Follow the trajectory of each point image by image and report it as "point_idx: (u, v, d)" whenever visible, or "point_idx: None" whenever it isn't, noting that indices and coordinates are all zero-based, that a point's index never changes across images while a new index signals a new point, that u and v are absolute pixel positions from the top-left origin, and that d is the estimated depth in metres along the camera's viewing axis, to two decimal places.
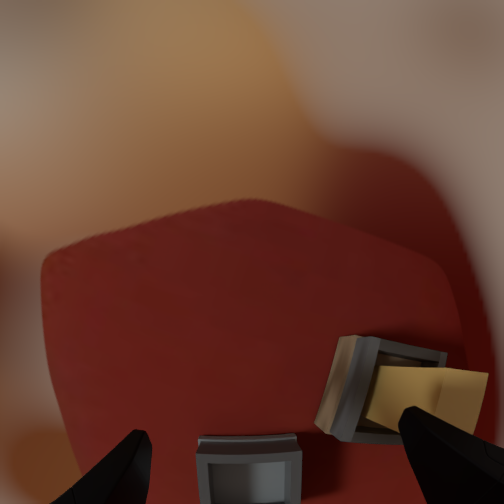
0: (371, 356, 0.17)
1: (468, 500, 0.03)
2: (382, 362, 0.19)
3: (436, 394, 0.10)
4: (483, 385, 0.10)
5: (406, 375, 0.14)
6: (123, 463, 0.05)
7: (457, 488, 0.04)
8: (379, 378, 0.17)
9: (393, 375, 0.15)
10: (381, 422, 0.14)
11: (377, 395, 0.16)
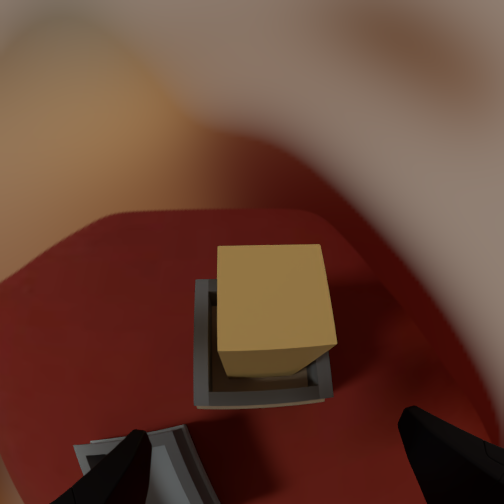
0: (201, 299, 0.16)
1: (468, 500, 0.03)
2: None
3: (218, 283, 0.10)
4: (316, 260, 0.11)
5: None
6: (123, 463, 0.05)
7: (457, 489, 0.04)
8: None
9: None
10: (225, 367, 0.13)
11: None
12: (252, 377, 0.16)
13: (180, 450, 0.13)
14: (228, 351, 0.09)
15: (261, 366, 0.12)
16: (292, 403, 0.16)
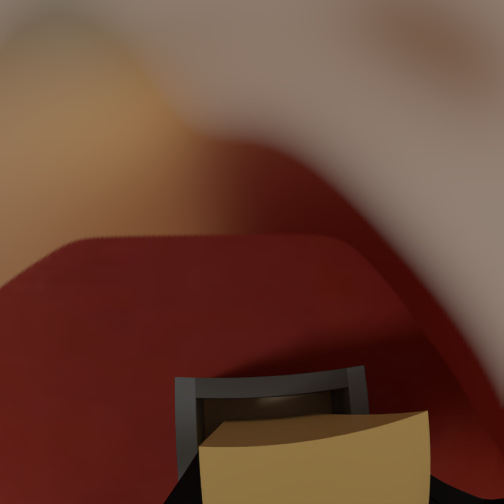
0: (185, 410, 0.09)
1: None
2: (246, 411, 0.11)
3: None
4: (417, 450, 0.03)
5: None
6: None
7: None
8: None
9: None
10: None
11: None
12: None
13: None
14: None
15: None
16: None
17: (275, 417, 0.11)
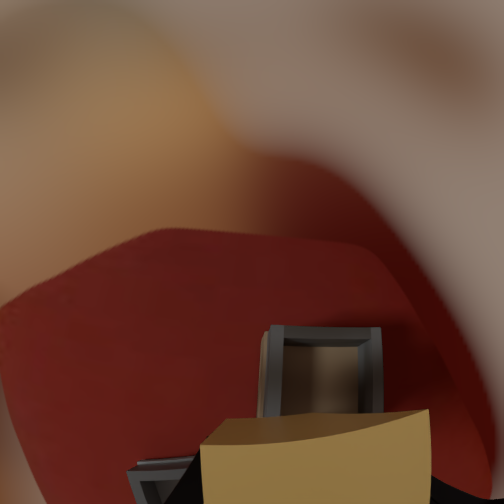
0: (276, 345, 0.17)
1: None
2: (305, 354, 0.19)
3: None
4: (418, 449, 0.03)
5: None
6: None
7: None
8: None
9: None
10: None
11: None
12: None
13: None
14: None
15: None
16: None
17: None
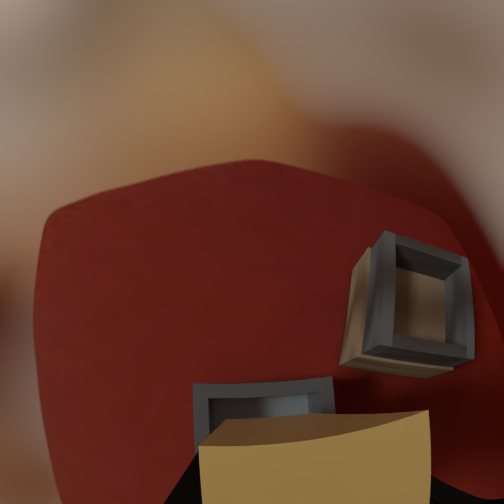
0: (389, 248, 0.16)
1: None
2: (402, 276, 0.18)
3: None
4: (418, 450, 0.03)
5: None
6: None
7: None
8: None
9: None
10: None
11: None
12: None
13: None
14: None
15: None
16: (432, 366, 0.15)
17: (275, 417, 0.11)
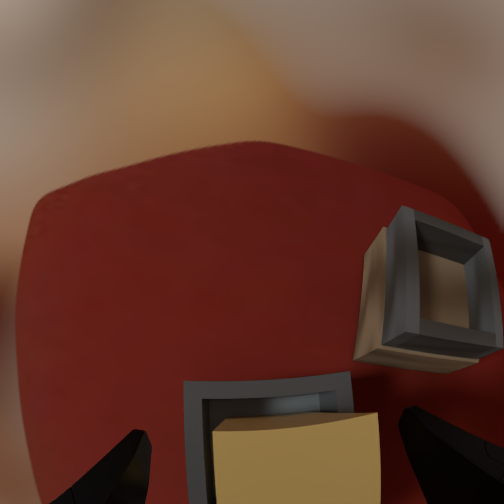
0: (409, 224, 0.14)
1: (468, 500, 0.03)
2: (421, 258, 0.16)
3: (216, 481, 0.05)
4: (369, 441, 0.05)
5: None
6: (122, 463, 0.05)
7: (458, 488, 0.04)
8: None
9: None
10: None
11: None
12: None
13: None
14: None
15: None
16: (457, 358, 0.12)
17: None
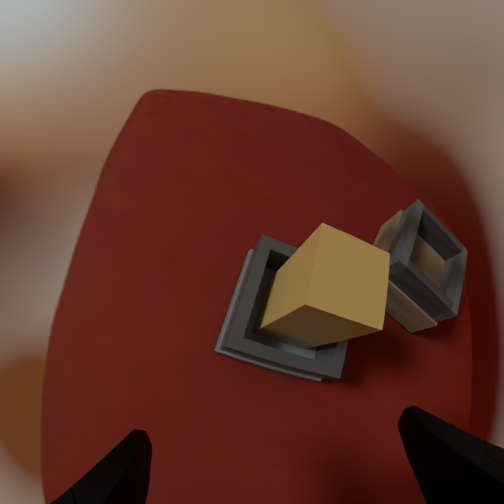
0: (418, 210, 0.21)
1: (468, 500, 0.03)
2: (418, 240, 0.23)
3: (314, 251, 0.12)
4: (384, 264, 0.13)
5: (291, 261, 0.16)
6: (123, 463, 0.05)
7: (457, 488, 0.04)
8: (271, 285, 0.19)
9: (282, 271, 0.17)
10: (269, 321, 0.15)
11: (268, 300, 0.18)
12: (273, 338, 0.19)
13: None
14: (311, 307, 0.11)
15: (304, 330, 0.14)
16: (423, 312, 0.20)
17: None
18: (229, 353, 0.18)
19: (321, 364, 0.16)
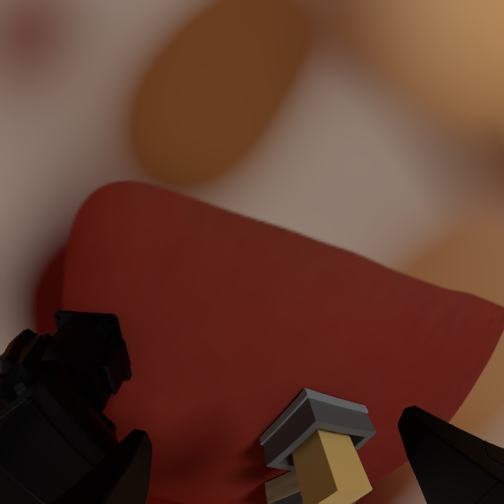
0: None
1: (468, 500, 0.03)
2: None
3: (359, 487, 0.14)
4: None
5: (355, 459, 0.18)
6: (123, 463, 0.05)
7: (457, 489, 0.04)
8: (341, 433, 0.21)
9: (350, 447, 0.19)
10: (324, 445, 0.19)
11: (333, 434, 0.20)
12: None
13: None
14: (334, 491, 0.14)
15: (313, 465, 0.18)
16: (281, 498, 0.23)
17: None
18: (302, 402, 0.22)
19: (280, 459, 0.20)
